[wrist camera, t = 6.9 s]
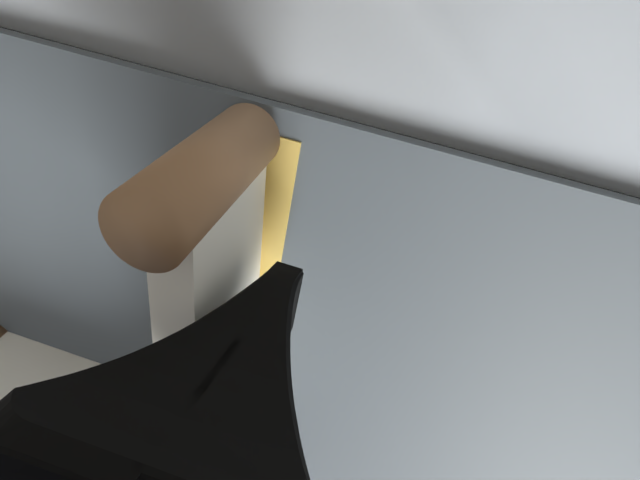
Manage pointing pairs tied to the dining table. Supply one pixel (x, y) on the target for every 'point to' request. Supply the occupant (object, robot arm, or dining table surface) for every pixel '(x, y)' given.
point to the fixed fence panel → (32, 362)
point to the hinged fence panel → (196, 217)
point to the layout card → (347, 275)
